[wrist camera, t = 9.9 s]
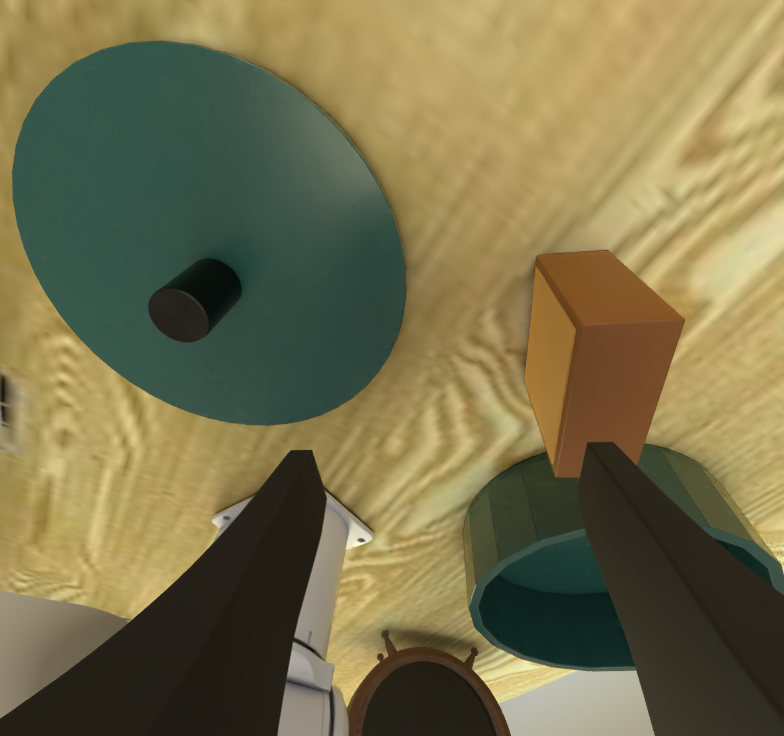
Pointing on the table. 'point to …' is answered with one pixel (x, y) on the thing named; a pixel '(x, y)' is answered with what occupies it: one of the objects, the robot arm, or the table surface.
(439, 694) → the alarm clock
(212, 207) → the lid
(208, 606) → the robot arm
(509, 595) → the pot
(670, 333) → the tall brown block
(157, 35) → the table surface
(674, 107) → the table surface
